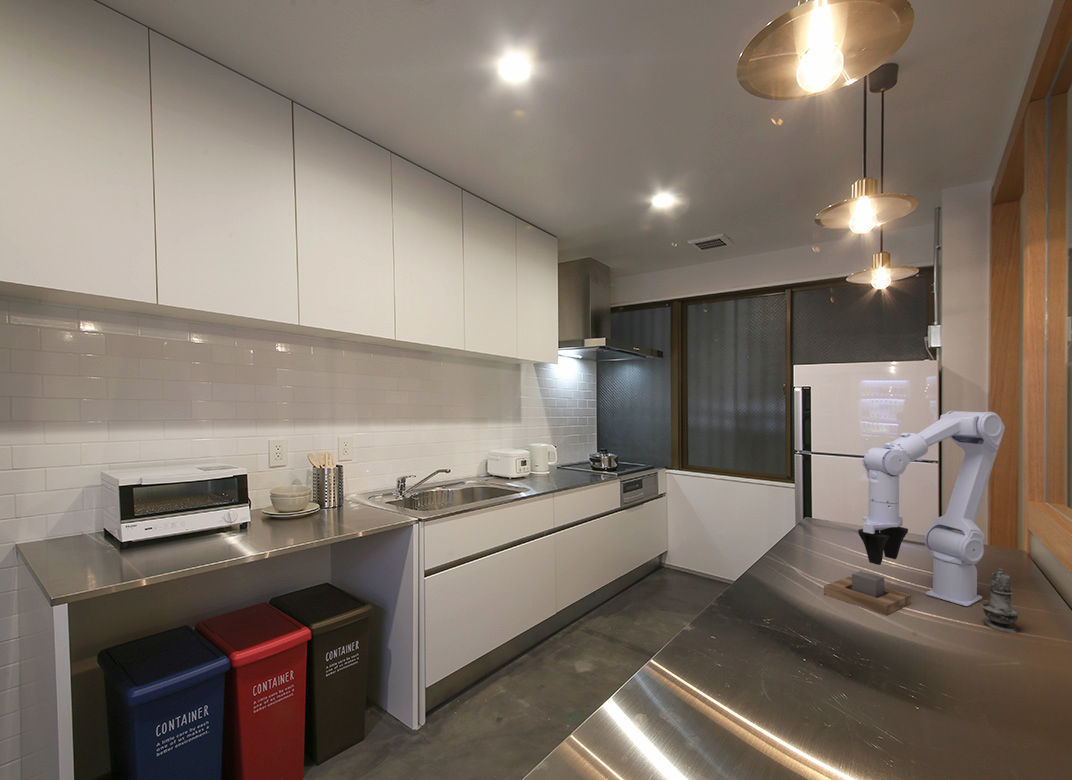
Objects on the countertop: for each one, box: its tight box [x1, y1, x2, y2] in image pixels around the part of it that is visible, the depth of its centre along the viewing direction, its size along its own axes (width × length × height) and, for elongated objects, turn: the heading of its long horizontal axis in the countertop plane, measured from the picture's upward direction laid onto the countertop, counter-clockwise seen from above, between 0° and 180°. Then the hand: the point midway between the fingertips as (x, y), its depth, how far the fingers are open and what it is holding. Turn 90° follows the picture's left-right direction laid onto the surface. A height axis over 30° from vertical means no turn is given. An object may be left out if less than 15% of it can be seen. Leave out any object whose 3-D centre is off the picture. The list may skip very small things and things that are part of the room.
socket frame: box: [823, 576, 912, 616], centre depth 115 cm, size 12×13×2 cm
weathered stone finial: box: [980, 567, 1021, 634], centre depth 102 cm, size 6×6×12 cm
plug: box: [851, 570, 885, 598], centre depth 115 cm, size 4×5×6 cm
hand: (883, 560), depth 114 cm, fingers open, 7 cm apart
